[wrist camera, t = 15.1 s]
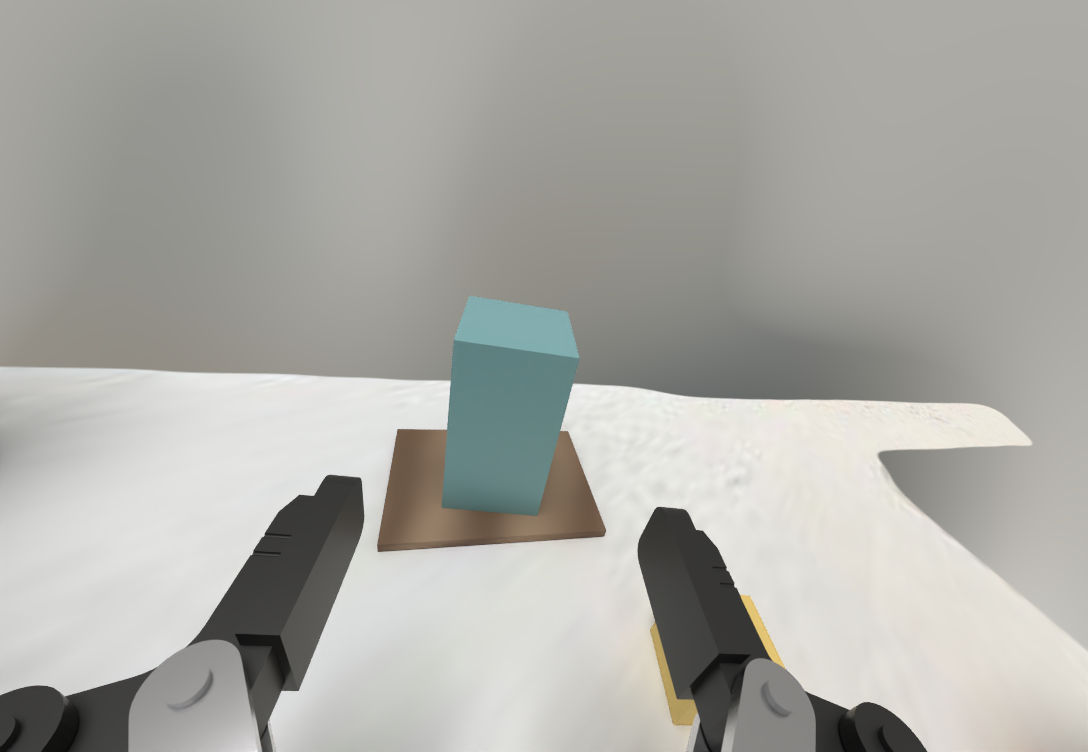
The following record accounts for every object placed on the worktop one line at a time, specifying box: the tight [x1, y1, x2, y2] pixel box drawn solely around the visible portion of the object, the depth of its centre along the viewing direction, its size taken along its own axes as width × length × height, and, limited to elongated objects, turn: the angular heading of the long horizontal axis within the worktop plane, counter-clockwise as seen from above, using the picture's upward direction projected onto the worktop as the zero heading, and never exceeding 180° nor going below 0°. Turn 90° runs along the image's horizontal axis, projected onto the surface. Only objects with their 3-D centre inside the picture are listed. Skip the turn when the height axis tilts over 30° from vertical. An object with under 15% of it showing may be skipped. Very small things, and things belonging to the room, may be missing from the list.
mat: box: [377, 429, 606, 551], centre depth 28 cm, size 14×10×1 cm
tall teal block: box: [442, 296, 579, 516], centre depth 24 cm, size 6×6×12 cm
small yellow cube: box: [650, 595, 785, 725], centre depth 18 cm, size 4×4×4 cm
